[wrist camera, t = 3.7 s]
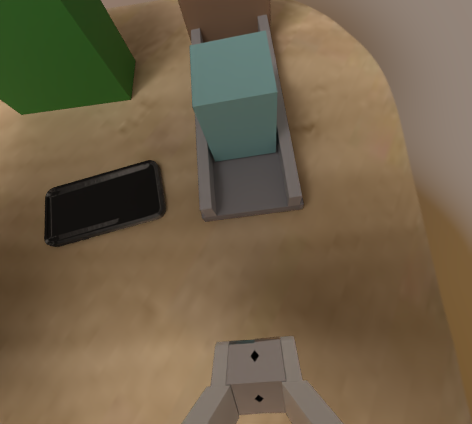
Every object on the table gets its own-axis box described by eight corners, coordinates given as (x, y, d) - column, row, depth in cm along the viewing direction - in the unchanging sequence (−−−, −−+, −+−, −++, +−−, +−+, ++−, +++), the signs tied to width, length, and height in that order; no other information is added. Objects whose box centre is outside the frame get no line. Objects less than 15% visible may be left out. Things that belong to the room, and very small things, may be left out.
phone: (45, 189, 33) (156, 157, 32) (52, 193, 34) (159, 162, 33) (44, 248, 30) (164, 215, 29) (51, 250, 31) (168, 218, 30)
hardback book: (21, 114, 39) (-328, -141, 16) (32, 77, 41) (-260, -191, 19) (130, 99, 37) (-93, -216, 14) (135, 60, 39) (-50, -261, 17)
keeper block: (215, 161, 29) (192, 106, 21) (211, 112, 32) (189, 45, 23) (275, 152, 29) (277, 92, 20) (267, 103, 31) (265, 30, 23)
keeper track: (205, 221, 29) (166, 177, 18) (194, 35, 39) (165, -65, 28) (302, 209, 28) (321, 153, 17) (266, 21, 38) (264, -89, 27)
